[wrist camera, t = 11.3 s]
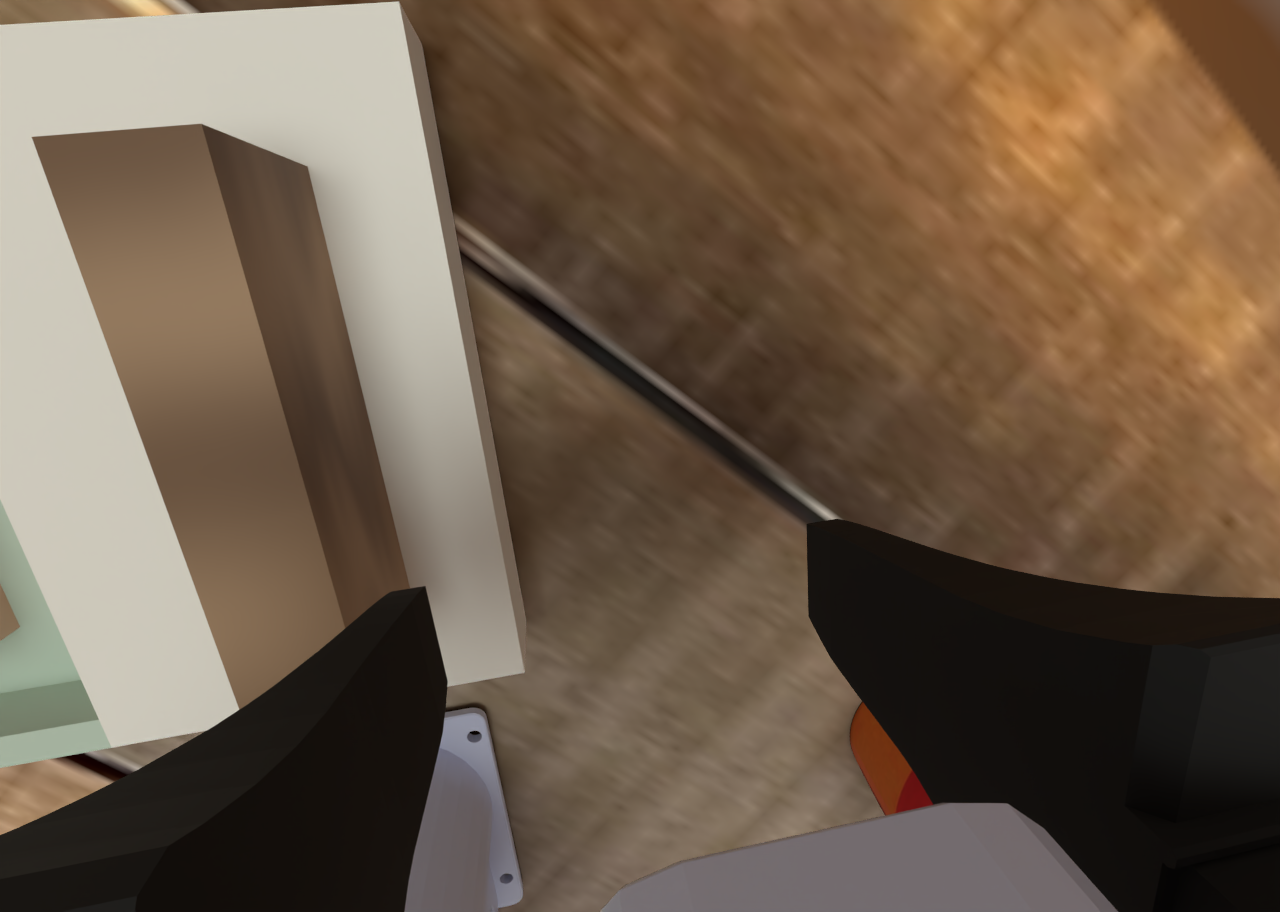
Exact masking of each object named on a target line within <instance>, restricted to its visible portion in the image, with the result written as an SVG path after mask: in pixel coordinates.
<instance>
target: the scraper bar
mask: <svg viewBox="0 0 1280 912" xmlns="http://www.w3.org/2000/svg"><path fill="white" fill-rule="evenodd" d="M32 139H33V142H34V145H35V148H36V150H37V153H38V156H39V159H40V161H41V164H42V167H43V170H44V173H45V175H46V178H47V181H48V184H49V186H50V189H51V192H52V195H53V197H54V200H55V203H56V206H57V208H58V211H59V214H60V217H61V219H62V222H63V225H64V228H65V230H66V233H67V236H68V239H69V241H70V244H71V247H72V250H73V252H74V255H75V258H76V261H77V263H78V266H79V269H80V272H81V275H82V277H83V280H84V283H85V286H86V288H87V291H88V294H89V297H90V299H91V302H92V305H93V308H94V310H95V313H96V316H97V319H98V321H99V324H100V327H101V330H102V332H103V335H104V338H105V341H106V343H107V346H108V349H109V352H110V354H111V357H112V360H113V363H114V365H115V368H116V371H117V374H118V377H119V379H120V382H121V385H122V388H123V390H124V393H125V396H126V399H127V401H128V404H129V407H130V410H131V412H132V415H133V418H134V421H135V423H136V426H137V429H138V432H139V434H140V437H141V440H142V443H143V445H144V448H145V451H146V454H147V456H148V459H149V462H150V465H151V467H152V470H153V473H154V476H155V479H156V481H157V484H158V487H159V490H160V492H161V495H162V498H163V501H164V503H165V506H166V509H167V512H168V514H169V517H170V520H171V523H172V525H173V528H174V531H175V534H176V536H177V539H178V542H179V545H180V547H181V550H182V553H183V556H184V558H185V561H186V564H187V567H188V569H189V572H190V575H191V578H192V581H193V583H194V586H195V589H196V592H197V594H198V597H199V600H200V603H201V605H202V608H203V611H204V614H205V616H206V619H207V622H208V625H209V627H210V630H211V633H212V636H213V638H214V641H215V644H216V647H217V649H218V652H219V655H220V658H221V660H222V663H223V666H224V669H225V671H226V674H227V677H228V680H229V682H230V685H231V688H232V691H233V694H234V696H235V699H236V702H237V705H238V707H239V710H240V709H241V708H243V707H244V706H246V705H247V704H249V703H250V702H252V701H253V700H254V699H256V698H257V697H259V696H260V695H262V694H263V693H264V692H266V691H267V690H269V689H270V688H271V687H273V686H274V685H275V684H277V683H278V682H279V681H281V680H282V679H283V678H284V677H286V676H287V675H288V674H290V673H291V672H292V671H293V670H295V669H296V668H297V667H298V666H300V665H301V664H302V663H304V662H305V661H306V660H307V659H309V658H310V657H311V656H313V655H314V654H315V653H316V652H318V651H319V650H320V649H321V648H323V647H324V646H325V645H326V644H327V643H329V642H330V641H331V640H332V639H333V638H334V637H336V636H337V635H338V634H339V633H340V632H342V631H343V630H344V629H345V628H346V627H347V626H349V625H350V624H351V623H352V622H353V621H354V620H356V619H357V618H358V617H359V616H360V615H361V614H363V613H364V612H365V611H366V610H367V609H368V608H370V607H371V606H372V605H373V604H375V603H376V602H377V601H378V600H380V599H381V598H382V597H383V596H385V595H386V594H388V593H389V592H391V591H397V590H404V589H410V586H409V582H408V578H407V574H406V569H405V565H404V561H403V557H402V553H401V549H400V545H399V541H398V537H397V532H396V528H395V524H394V520H393V516H392V512H391V508H390V504H389V500H388V495H387V491H386V487H385V483H384V479H383V475H382V471H381V467H380V463H379V458H378V454H377V450H376V446H375V442H374V438H373V434H372V430H371V426H370V421H369V417H368V413H367V409H366V405H365V401H364V397H363V393H362V388H361V384H360V380H359V376H358V372H357V368H356V364H355V360H354V356H353V351H352V347H351V343H350V339H349V335H348V331H347V327H346V323H345V319H344V314H343V310H342V306H341V302H340V298H339V294H338V290H337V286H336V282H335V277H334V273H333V269H332V265H331V261H330V257H329V253H328V249H327V245H326V240H325V236H324V232H323V228H322V224H321V220H320V216H319V212H318V208H317V203H316V199H315V195H314V191H313V187H312V183H311V179H310V175H309V170H308V166H305V165H303V164H300V163H298V162H295V161H293V160H290V159H288V158H285V157H283V156H280V155H278V154H275V153H273V152H270V151H268V150H266V149H263V148H261V147H258V146H256V145H253V144H251V143H248V142H246V141H243V140H241V139H238V138H236V137H233V136H231V135H228V134H226V133H223V132H221V131H218V130H216V129H213V128H211V127H208V126H206V125H203V124H190V125H177V126H165V127H152V128H139V129H126V130H113V131H100V132H88V133H75V134H62V135H49V136H36V137H32Z"/></svg>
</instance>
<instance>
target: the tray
mask: <svg viewBox="0 0 1280 912" xmlns="http://www.w3.org/2000/svg"><path fill="white" fill-rule="evenodd" d="M0 584H1V586H2V588H3V591H4V593H5V595H6V597H7V599H8V601H9V604H10V606H11V608H12V610H13V612H14V615H15V617H16V619H17V621H18V623H19V625H20V627H19V628H18V629H16V630H15V631H14V632H12V633H11V634H9V635H8V636H7V637H5V638H4V639H2V640H1V641H0V768H2V767H8V766H13V765H19V764H24V763H30V762H35V761H41V760H46V759H52V758H57V757H63V756H68V755H74V754H79V753H85V752H90V751H96V750H102V749H107V748H111V745H110V743H109V741H108V739H107V736H106V734H105V732H104V730H103V727H102V725H101V723H100V721H99V719H98V716H97V714H96V712H95V710H94V707H93V705H92V703H91V701H90V699H89V696H88V694H87V692H86V690H85V687H84V685H83V683H82V681H81V678H80V676H79V674H78V672H77V670H76V667H75V665H74V663H73V661H72V658H71V656H70V654H69V652H68V650H67V647H66V645H65V643H64V641H63V638H62V636H61V634H60V632H59V629H58V627H57V625H56V623H55V621H54V618H53V616H52V614H51V612H50V609H49V607H48V605H47V603H46V600H45V598H44V596H43V594H42V592H41V589H40V587H39V585H38V583H37V580H36V578H35V576H34V574H33V572H32V569H31V567H30V565H29V563H28V560H27V558H26V556H25V554H24V551H23V549H22V547H21V545H20V543H19V540H18V538H17V536H16V534H15V531H14V529H13V527H12V525H11V522H10V520H9V518H8V516H7V514H6V511H5V509H4V507H3V505H2V502H1V500H0Z"/></svg>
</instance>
